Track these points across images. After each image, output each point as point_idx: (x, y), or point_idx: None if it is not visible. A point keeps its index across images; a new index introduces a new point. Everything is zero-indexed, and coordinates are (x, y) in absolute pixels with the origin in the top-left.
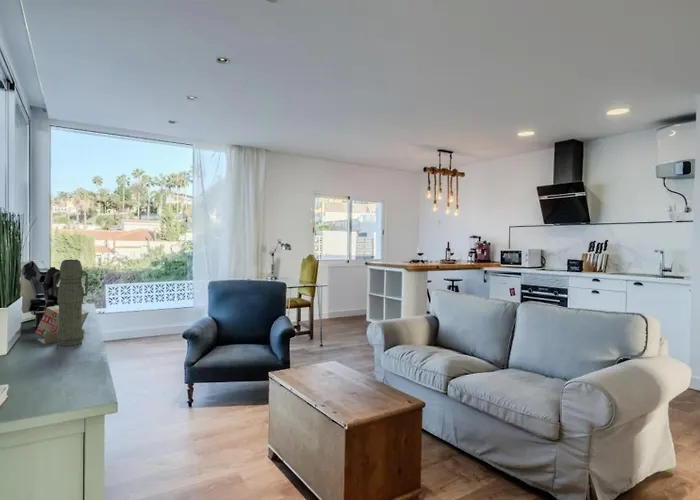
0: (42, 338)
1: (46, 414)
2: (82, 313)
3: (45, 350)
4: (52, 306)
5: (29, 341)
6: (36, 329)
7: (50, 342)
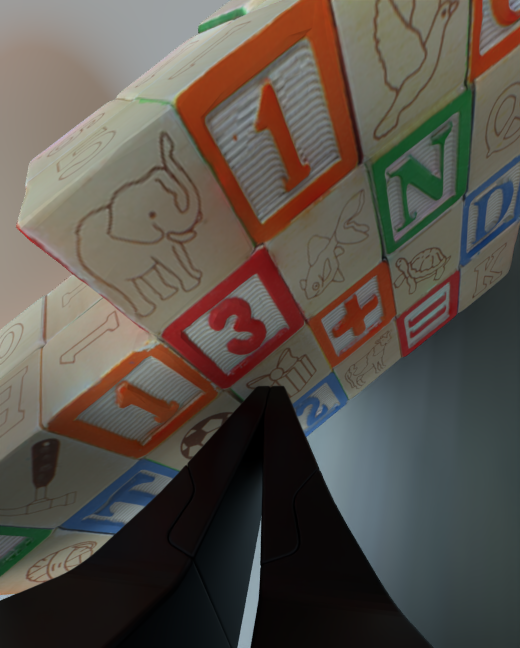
0: None
1: None
2: (6, 326)
3: None
4: (333, 605)
5: (516, 255)
6: (514, 244)
7: None
